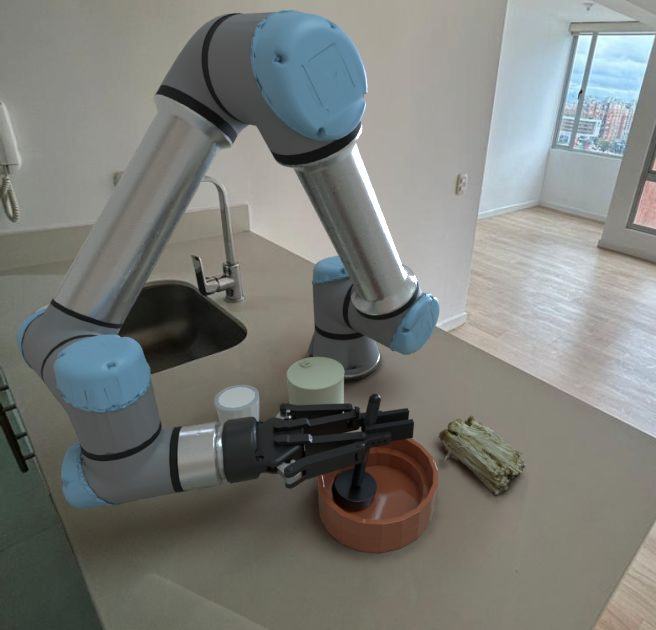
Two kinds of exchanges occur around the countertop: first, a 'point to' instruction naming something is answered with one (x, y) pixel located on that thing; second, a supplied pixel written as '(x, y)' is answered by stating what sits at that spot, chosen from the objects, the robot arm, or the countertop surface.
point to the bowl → (385, 499)
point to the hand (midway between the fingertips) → (409, 422)
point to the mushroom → (482, 453)
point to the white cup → (237, 403)
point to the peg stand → (359, 471)
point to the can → (316, 382)
